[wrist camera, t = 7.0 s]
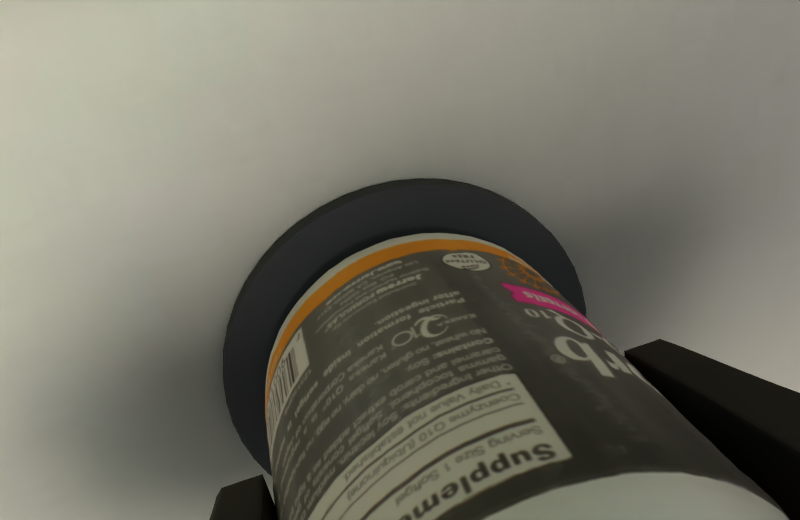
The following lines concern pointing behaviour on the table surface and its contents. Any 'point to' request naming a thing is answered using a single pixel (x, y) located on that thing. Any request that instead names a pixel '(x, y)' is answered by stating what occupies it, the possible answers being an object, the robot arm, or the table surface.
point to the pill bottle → (475, 402)
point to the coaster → (348, 234)
